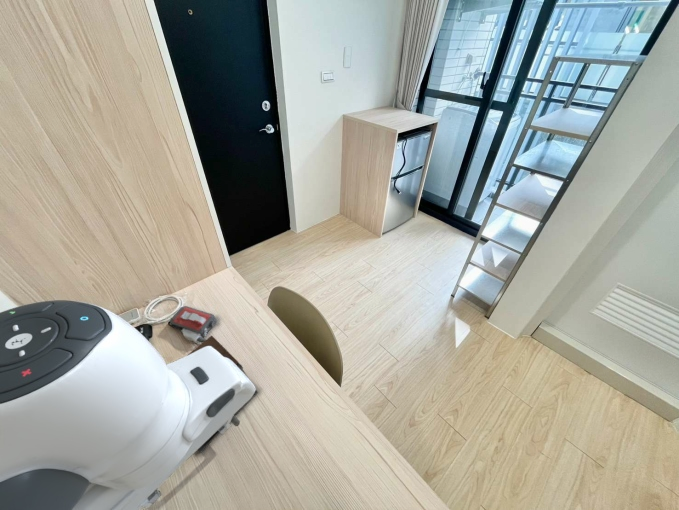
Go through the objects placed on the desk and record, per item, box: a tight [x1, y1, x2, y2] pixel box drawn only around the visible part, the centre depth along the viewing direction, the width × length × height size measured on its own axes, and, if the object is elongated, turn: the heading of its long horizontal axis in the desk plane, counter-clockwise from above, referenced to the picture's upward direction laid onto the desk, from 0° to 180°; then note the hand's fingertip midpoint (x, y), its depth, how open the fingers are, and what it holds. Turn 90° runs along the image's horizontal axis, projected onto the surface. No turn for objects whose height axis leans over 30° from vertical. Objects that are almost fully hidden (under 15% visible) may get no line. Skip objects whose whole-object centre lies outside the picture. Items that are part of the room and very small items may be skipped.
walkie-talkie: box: [167, 305, 217, 344], centre depth 79 cm, size 9×4×20 cm
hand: (191, 458), depth 35 cm, fingers open, 8 cm apart
